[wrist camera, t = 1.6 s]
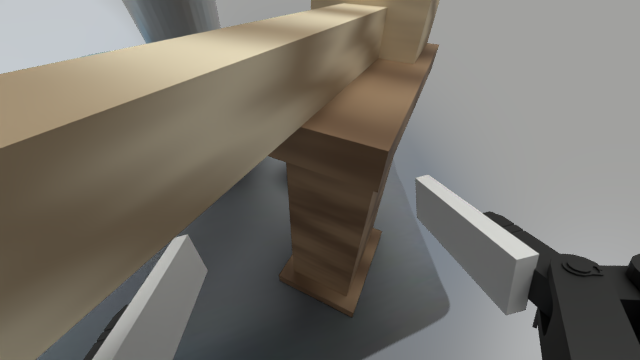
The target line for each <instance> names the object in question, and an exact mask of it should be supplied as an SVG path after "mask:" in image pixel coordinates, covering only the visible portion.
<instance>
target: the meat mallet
mask: <svg viewBox="0 0 640 360" xmlns="http://www.w3.org/2000/svg"><path fill="white" fill-rule="evenodd" d="M438 4H439V0H311V10H308V11H304V12H299V13H294V14H289V15H284V16H279V17H274V18H270V19H265V20H260V21H255V22H250V23H245V24H240V25H236V26H231V27H226V28H221V29H216V30H211V31H207V32H202V33H197V34H192V35H187V36H182V37H177V38H173V39H168V40H163V41H158V42H153V43H148V44H143V45H139V46H134V47H129V48H124V49H119V50H114V51H110V52H105V53H100V54H95V55H90V56H85V57H80V58H76V59H71V60H66V61H61V62H56V63H51V64H47V65H42V66H37V67H32V68H27V69H22V70H18V71H13V72H8V73H3V74H0V360H36V359H37V358H38V357H39V356H40V355H41V354H43V353H44V352H45V351H46V350H47V349H48V348H49V347H51V346H52V345H53V344H54V343H55V342H56V341H57V340H58V339H60V338H61V337H62V336H63V335H64V334H65V333H66V332H68V331H69V330H70V329H71V328H72V327H73V326H74V325H76V324H77V323H78V322H79V321H80V320H81V319H82V318H83V317H85V316H86V315H87V314H88V313H89V312H90V311H91V310H93V309H94V308H95V307H96V306H97V305H98V304H99V303H101V302H102V301H103V300H104V299H105V298H106V297H107V296H109V295H110V294H111V293H112V292H113V291H114V290H115V289H116V288H118V287H119V286H120V285H121V284H122V283H123V282H124V281H126V280H127V279H128V278H129V277H130V276H131V275H132V274H134V273H135V272H136V271H137V270H138V269H139V268H140V267H142V266H143V265H144V264H145V263H146V262H147V261H148V260H149V259H151V258H152V257H153V256H154V255H155V254H156V253H157V252H159V251H160V250H161V249H162V248H163V247H164V246H165V245H167V244H168V243H169V242H170V241H171V240H172V239H173V238H175V237H176V236H177V235H178V234H179V233H180V232H181V231H182V230H184V229H185V228H186V227H187V226H188V225H189V224H190V223H192V222H193V221H194V220H195V219H196V218H197V217H198V216H200V215H201V214H202V213H203V212H204V211H205V210H206V209H208V208H209V207H210V206H211V205H212V204H213V203H214V202H215V201H217V200H218V199H219V198H220V197H221V196H222V195H223V194H225V193H226V192H227V191H228V190H229V189H230V188H231V187H233V186H234V185H235V184H236V183H237V182H238V181H239V180H240V179H242V178H243V177H244V176H245V175H246V174H247V173H248V172H250V171H251V170H252V169H253V168H254V167H255V166H256V165H258V164H259V163H260V162H261V161H262V160H263V159H264V158H266V157H267V156H268V155H269V154H270V153H271V152H272V151H273V150H275V149H276V148H277V147H278V146H279V145H280V144H281V143H283V142H284V141H285V140H286V139H287V138H288V137H289V136H291V135H292V134H293V133H294V132H295V131H296V130H297V129H299V128H300V127H301V126H302V125H303V124H304V123H305V122H306V121H308V120H309V119H310V118H311V117H312V116H313V115H314V114H316V113H317V112H318V111H319V110H320V109H321V108H322V107H324V106H325V105H326V104H327V103H328V102H329V101H330V100H332V99H333V98H334V97H335V96H336V95H337V94H338V93H339V92H341V91H342V90H343V89H344V88H345V87H346V86H347V85H349V84H350V83H351V82H352V81H353V80H354V79H355V78H357V77H358V76H359V75H360V74H361V73H362V72H363V71H365V70H366V69H367V68H368V67H369V66H370V65H371V64H372V63H374V62H375V61H376V60H377V59H378V58H380V59H386V60H392V61H399V62H405V63H411V64H414V63H415V61H416V60H417V58H418V57H419V55H420V54H421V52H422V51H423V49H424V48H425V46H426V45H427V42H428V38H429V34H430V31H431V28H432V24H433V21H434V18H435V14H436V11H437V7H438Z"/></svg>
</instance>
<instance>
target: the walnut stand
mask: <svg viewBox="0 0 640 360" xmlns="http://www.w3.org/2000/svg"><path fill="white" fill-rule="evenodd" d="M438 46H439V45H437V44H429V43H427V45H426V46H425V48H424V49H423V51H422V52H421V54H420V55H419V57H418V58H417V60H416V61H415V63H414V64H411V63H405V62H399V61H392V60H386V59H380V58H378V59H377V60H376V61H375V62H374V63H372V64H371V65H370V66H369V67H368V68H367V69H366V70H365V71H363V72H362V73H361V74H360V75H359V76H358V77H357V78H355V79H354V80H353V81H352V82H351V83H350V84H349V85H347V86H346V87H345V88H344V89H343V90H342V91H341V92H339V93H338V94H337V95H336V96H335V97H334V98H333V99H332V100H330V101H329V102H328V103H327V104H326V105H325V106H324V107H322V108H321V109H320V110H319V111H318V112H317V113H316V114H314V115H313V116H312V117H311V118H310V119H309V120H308V121H306V122H305V123H304V124H303V125H302V126H301V127H300V128H299V129H297V130H296V131H295V132H294V133H293V134H292V135H291V136H289V137H288V138H287V139H286V140H285V141H284V142H283V143H281V144H280V145H279V146H278V147H277V148H276V149H275V150H273V151H272V152H271V153H270V154H269V155H268V156H269V157H272V158H275V159H278V160H281V161H284V162H286V166H287V181H288V195H289V210H290V224H291V239H292V253H293V254H292V256H291V257H290V259H289V260H288V262H287V263H286V265H285V266H284V268H283V270H282V271H281V273H280V274H279V279H280V281H282V282H284V283H286V284H288V285H290V286H292V287H294V288H296V289H298V290H299V291H301V292H303V293H305V294H307V295H309V296H311V297H313V298H315V299H317V300H319V301H321V302H323V303H325V304H327V305H329V306H331V307H333V308H334V309H336V310H338V311H340V312H342V313H344V314H346V315H348V316H350V317H352V316H353V313H354V310H355V308H356V305H357V302H358V299H359V296H360V293H361V290H362V288H363V285H364V282H365V279H366V276H367V273H368V270H369V267H370V265H371V262H372V259H373V256H374V253H375V250H376V247H377V245H378V242H379V239H380V236H381V233H382V231H380V230H377V229H374V228H373V225H374V222H375V218H376V215H377V211H378V208H379V204H380V201H381V198H382V194H383V191H384V187H385V184H386V180H387V177H388V174H389V170H390V167H391V163H392V160H393V156H394V154H395V151H396V149H397V147H398V144H399V142H400V140H401V137H402V135H403V133H404V131H405V128H406V126H407V124H408V121H409V119H410V117H411V114H412V112H413V110H414V108H415V105H416V103H417V100H418V98H419V96H420V94H421V91H422V89H423V87H424V84H425V82H426V80H427V77H428V75H429V73H430V71H431V68H432V65H433V62H434V58H435V56H436V52H437V50H438Z"/></svg>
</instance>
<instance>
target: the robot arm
mask: <svg viewBox="0 0 640 360" xmlns="http://www.w3.org/2000/svg"><path fill="white" fill-rule="evenodd" d="M122 1H123V3H124V4H125V6H126V8H127V10H128V11H129V13H130V15H131V17H132V19H133V20H134V22H135V24H136V26H137V28H138V29H139V31H140V33H141V35H142V36H143V38H144V40H145V42H146V44H148V43H153V42H158V41H163V40H168V39H173V38H177V37H182V36H187V35H192V34H197V33H202V32H207V31H211V30H216V29H221V28H220V23H219V17H218V12H217V7H216V2H215V0H122ZM108 52H110V51H108ZM102 53H105V52H102ZM96 54H100V53H96ZM92 55H95V54H92ZM88 56H90V55H88ZM83 57H85V56H83ZM415 179H416V207H417V218H418V219H419V220H420V221H421V222H422V223H423V225H424V226H425V227H426V228H427V229H428V230H429V231H430V232H431V233H432V235H433V236H434V237H435V238H436V239H437V240H438V241H439V242H440V243H441V244H442V246H443V247H444V248H445V249H446V250H447V251H448V252H449V253H450V254H451V255H452V256H453V258H454V259H455V260H456V261H457V262H458V263H459V264H460V265H461V266H462V267H463V269H464V270H465V271H466V272H467V273H468V274H469V275H470V276H471V277H472V279H473V280H474V281H475V282H476V283H477V284H478V285H479V286H480V287H481V288H482V290H483V291H484V292H485V293H486V294H487V295H488V296H489V297H490V298H491V299H492V301H493V302H494V303H495V304H496V305H497V306H498V307H499V308H500V309H501V310H502V312H503V313H504V314H505V315H509V314H512V313H516V312H520V311H523V310H526V306H527V302H528V299H529V300H530V301H531V302H533V304H535V305H536V306H537V307H538V308H537V311H536V315H535V319H534V322H533V327H534V328H537V325H538V330H539V338H540V346H541V353H542V360H640V254H638V255H635V256H633V257H632V259H631V261H630V263H629V265H628V266H599V265H598V264H597V263H595V262H593V261H591V260H588V259H586V258H584V257H580V256H576V255H571V254H559V253H558V252H556V251H555V250H553V249H552V248H550V247H549V246H547V245H545V244H544V243H543V242H541V241H540V240H538V239H537V238H535V237H533V236H532V235H530V234H529V233H527V232H526V231H523V229H521V228H520V227H518V226H517V225H514V223H512V222H511V221H509V220H508V219H506V218H505V217H503V216H501V215H498V214H495V213H493V212H486V213H481V212H480V211H478V210H477V209H475V208H474V207H473V206H471V205H470V204H468V203H467V202H466V201H464V200H463V199H461V198H460V197H459V196H457V195H456V194H454V193H453V192H452V191H450V190H449V189H447V188H446V187H445V186H443V185H442V184H440V183H439V182H438V181H436V180H435V179H433V178H432V177H430V176H429V175H425V176H421V177H418V178H415ZM207 271H208V270H207V268H206V266H205V265H204V263H203V261H202V259H201V257H200V255H199V254H198V252H197V250H196V248H195V246H194V245H193V243H192V241H191V239H190V237H189V235H188V234H187V235H183V236H179V237H175V238H174V239H173V240H172V242H171V243H170V245H169V246H168V248H167V249H166V251H165V252H164V254H163V255H162V257H161V258H160V260H159V261H158V262H157V264H156V265H155V267H154V268H153V270H152V271H151V273H150V274H149V276H148V277H147V279H146V280H145V282H144V283H143V285H142V286H141V288H140V289H139V291H138V292H137V294H136V295H135V297H134V298H133V300H132V301H131V303H130V304H129V305H125V306H124V307H123V308H122V309H121V310H120V311H119V312H118V313H117V314H116V315H115V316H114V317H113V318H112V320H111V321H110V323H109V324H108V325H107V327H106V328H105V330H104V332H103V333H102V334H101V335H100V337H99V338H98V340H97V343H95V344H94V345H93V347H92V348H91V350H90V351H89V352H88V354H87V355H86V357H85V358H84V360H173V358H174V356H175V353H176V350H177V348H178V345H179V343H180V340H181V338H182V335H183V333H184V330H185V327H186V325H187V322H188V320H189V317H190V315H191V312H192V310H193V307H194V304H195V302H196V299H197V297H198V294H199V292H200V289H201V287H202V284H203V281H204V279H205V276H206V274H207Z"/></svg>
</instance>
